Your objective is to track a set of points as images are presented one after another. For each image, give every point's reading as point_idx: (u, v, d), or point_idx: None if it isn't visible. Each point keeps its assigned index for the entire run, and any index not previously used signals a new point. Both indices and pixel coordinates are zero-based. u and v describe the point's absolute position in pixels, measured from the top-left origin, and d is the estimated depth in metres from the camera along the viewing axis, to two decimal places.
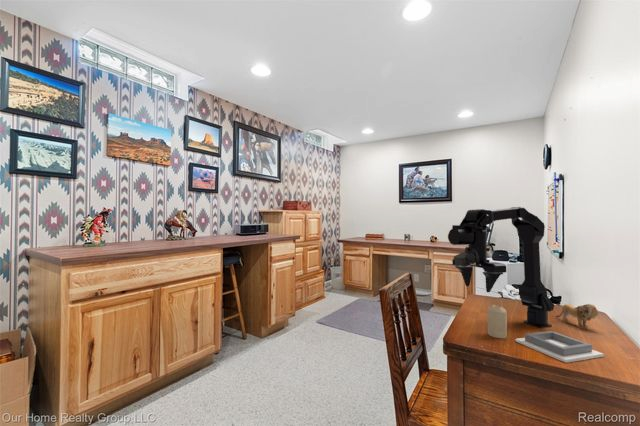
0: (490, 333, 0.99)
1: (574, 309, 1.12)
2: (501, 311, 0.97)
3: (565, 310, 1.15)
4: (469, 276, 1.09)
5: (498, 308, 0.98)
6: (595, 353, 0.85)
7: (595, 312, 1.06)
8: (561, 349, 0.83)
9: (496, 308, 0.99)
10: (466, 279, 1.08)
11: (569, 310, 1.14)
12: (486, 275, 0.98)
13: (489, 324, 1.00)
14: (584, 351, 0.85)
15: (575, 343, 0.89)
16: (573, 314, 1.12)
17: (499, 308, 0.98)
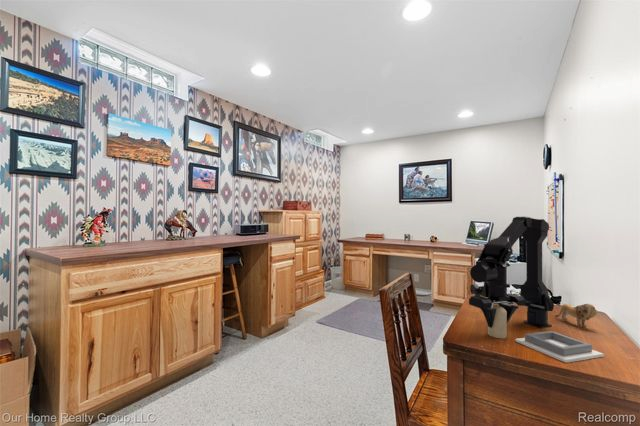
0: (490, 333, 0.99)
1: (573, 309, 1.12)
2: (501, 311, 0.97)
3: (564, 310, 1.16)
4: None
5: (498, 308, 0.98)
6: (595, 353, 0.85)
7: (594, 312, 1.06)
8: (561, 349, 0.83)
9: (496, 308, 0.99)
10: None
11: (568, 310, 1.14)
12: None
13: None
14: (584, 351, 0.85)
15: (575, 343, 0.89)
16: (572, 314, 1.12)
17: (499, 308, 0.98)
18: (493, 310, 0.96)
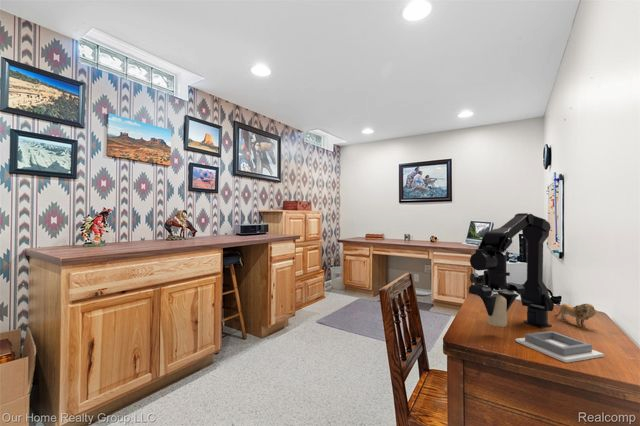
0: (490, 321, 0.99)
1: (572, 308, 1.12)
2: (501, 300, 0.97)
3: (563, 309, 1.16)
4: None
5: (498, 296, 0.98)
6: (595, 353, 0.85)
7: (593, 311, 1.07)
8: (561, 349, 0.83)
9: (496, 296, 0.99)
10: None
11: (567, 309, 1.14)
12: None
13: None
14: (584, 351, 0.85)
15: (575, 343, 0.89)
16: (571, 313, 1.12)
17: (499, 296, 0.98)
18: (493, 298, 0.96)
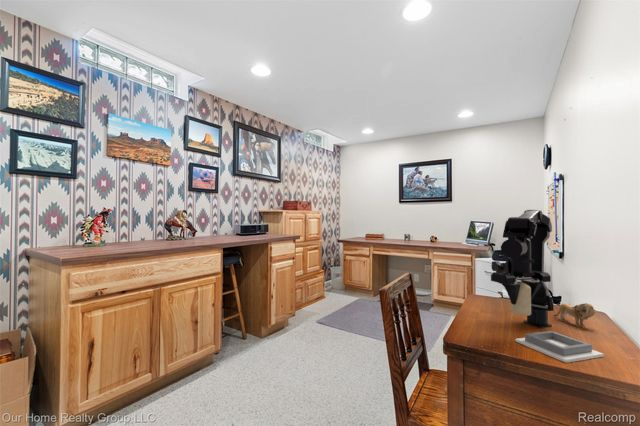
0: (513, 310, 0.95)
1: (571, 308, 1.13)
2: (525, 287, 0.94)
3: (562, 309, 1.16)
4: None
5: (522, 284, 0.94)
6: (595, 353, 0.85)
7: (592, 311, 1.07)
8: (561, 349, 0.83)
9: (520, 284, 0.95)
10: None
11: (566, 309, 1.15)
12: None
13: None
14: (584, 351, 0.85)
15: (575, 343, 0.89)
16: (570, 313, 1.13)
17: (523, 284, 0.94)
18: (517, 286, 0.92)
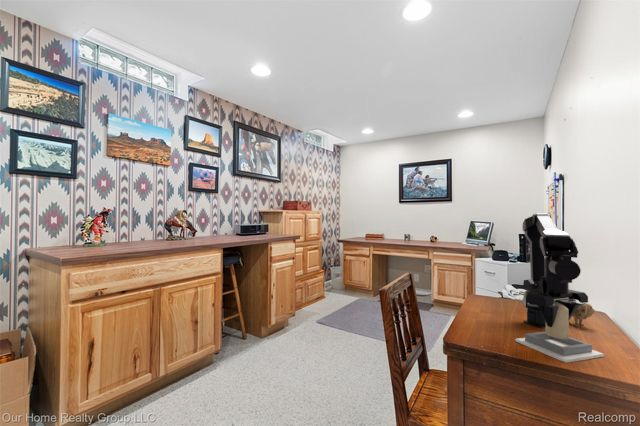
0: (550, 333, 0.89)
1: None
2: (563, 309, 0.88)
3: None
4: None
5: (559, 305, 0.89)
6: (595, 353, 0.85)
7: (591, 311, 1.07)
8: (561, 349, 0.83)
9: (557, 305, 0.89)
10: None
11: None
12: None
13: None
14: (584, 351, 0.85)
15: (575, 343, 0.89)
16: None
17: (560, 305, 0.89)
18: (555, 308, 0.86)
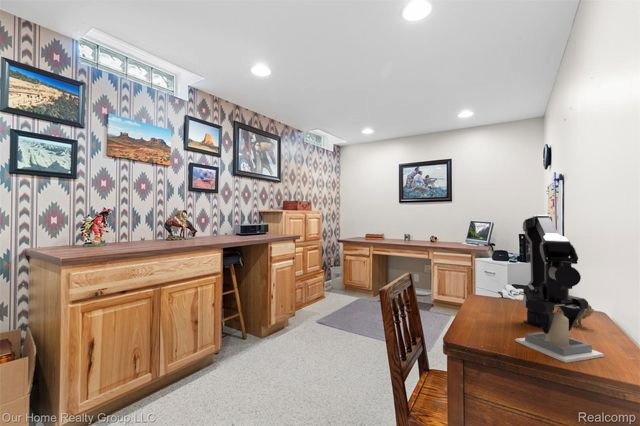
0: None
1: None
2: (564, 319, 0.88)
3: None
4: (571, 319, 0.91)
5: (559, 315, 0.89)
6: (595, 353, 0.85)
7: (590, 311, 1.07)
8: (561, 349, 0.83)
9: (557, 315, 0.89)
10: None
11: None
12: None
13: (548, 333, 0.90)
14: (584, 351, 0.85)
15: (575, 343, 0.89)
16: None
17: (560, 315, 0.88)
18: (551, 314, 0.86)
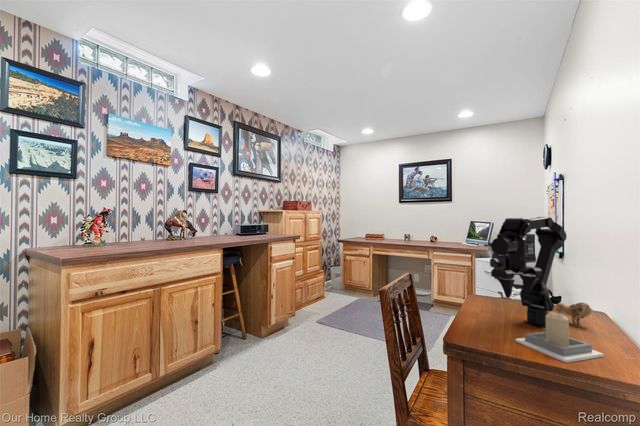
0: None
1: (568, 307, 1.14)
2: (564, 319, 0.88)
3: (559, 308, 1.17)
4: (528, 286, 1.07)
5: (559, 315, 0.89)
6: (595, 353, 0.85)
7: (588, 310, 1.08)
8: (561, 349, 0.83)
9: (557, 315, 0.89)
10: (524, 288, 1.08)
11: (563, 308, 1.16)
12: None
13: (548, 333, 0.90)
14: (584, 351, 0.85)
15: (575, 343, 0.89)
16: (567, 312, 1.14)
17: (560, 315, 0.88)
18: (512, 281, 1.01)
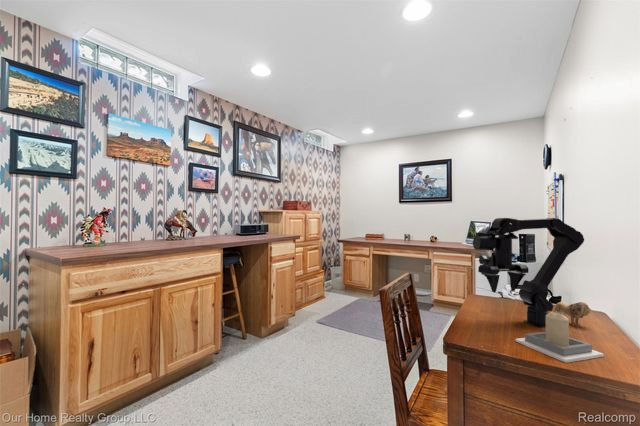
0: None
1: (567, 307, 1.14)
2: (564, 319, 0.88)
3: (558, 308, 1.18)
4: (515, 282, 1.13)
5: (559, 315, 0.89)
6: (595, 353, 0.85)
7: (587, 310, 1.08)
8: (561, 349, 0.83)
9: (557, 315, 0.89)
10: (511, 284, 1.14)
11: (562, 308, 1.16)
12: None
13: (548, 333, 0.90)
14: (584, 351, 0.85)
15: (575, 343, 0.89)
16: (566, 312, 1.14)
17: (560, 315, 0.88)
18: (496, 276, 1.08)
